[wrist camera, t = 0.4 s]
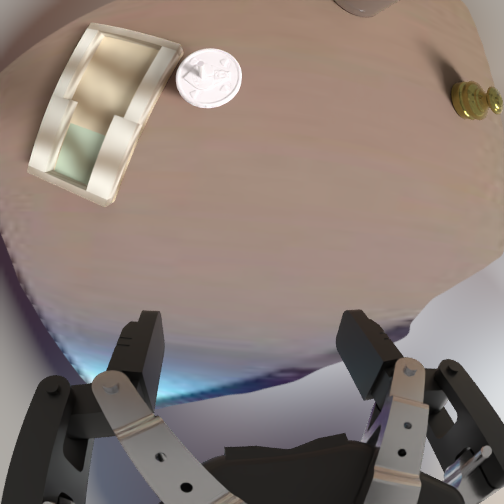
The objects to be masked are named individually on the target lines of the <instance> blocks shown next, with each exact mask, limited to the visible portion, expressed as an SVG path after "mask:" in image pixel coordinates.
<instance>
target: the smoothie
mask: <svg viewBox="0 0 504 504" xmlns="http://www.w3.org/2000/svg"><path fill="white" fill-rule="evenodd" d="M241 79H242V72H241V68H240V66H239V64H238V62H237V60H236V59H235V58H234V57H233V56H232V55H230V54H229V53H227V52H225V51H223V50H219V49H212V48H208V49H202V50H198V51H196V52H194V53H192V54H190V55H189V56H187V57H186V58H185V59H184V60H183V61H182V63H181V64H180V66H179V68H178V70H177V73H176V85H177V89H178V91H179V93H180V95H181V96H182V97H183V98H184V99H185V100H186V101H187V102H188V103H190V104H192V105H194V106H197V107H200V108H213V107H218V106H221V105H223V104H225V103H227V102H228V101H230V100H231V99H232V98H233V97H234V96H235V95H236V93H237V92H238V90H239V88H240V85H241Z"/></svg>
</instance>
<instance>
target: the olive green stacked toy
mask: <svg viewBox="0 0 504 504" xmlns="http://www.w3.org/2000/svg"><path fill="white" fill-rule="evenodd" d="M451 97H452V103H453V106H454V108H455V110H456V112H457V113H458V114H459V116H461V117H462V118H464V119H471V120H474V119H477V120H483V119H484V118H485V117H486V116H487V113H488V110H489V108H491V110H492V111H493V112H494V113H495V114H497V115H499V114H501V112H502V110H503V101H502V98H501V95H500V93H499V91H498V90H497V89H496V88H495V87H492V86H491V87H489V88H488V91H487V93H485V91H484V90H483V88H482V87H481V86H480V85H479V84H478V83H476V82H474V81H469V82H459V83H455V84H454V85H453V87H452V91H451Z"/></svg>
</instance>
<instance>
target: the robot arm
mask: <svg viewBox="0 0 504 504" xmlns="http://www.w3.org/2000/svg"><path fill="white" fill-rule="evenodd" d="M398 1H399V0H335V2H336V3H337V4H338V5H340V6H341V7H342V8H343V9H345V10H346V11H348V12H350V13H352V14H354V15H357V16H360V17H372V16H375V15H376V14H378V13H380V12H381V11H383V10H384V9H386V8H388V7H389V6H391V5H393V4H394V3H396V2H398ZM336 347H337V350H338V352H339V354H340V356H341V358H342V360H343V362H344V363H345V365H346V367H347V369H348V371H349V373H350V375H351V377H352V379H353V380H354V383H355V384H356V386H357V388H358V390H359V392H360V394H361V396H362V398H363V400H369V399H374V400H375V403H374V405H373V407H372V410H371V414H370V417H369V420H368V423H367V426H366V429H365V432H364V435H363V437H362V439H361V441H360V442H359V441H352V440H348V439H347V437H346V434H345V433H343V434H338V435H333V436H328V437H323V438H318V439H315V440H313V441H310V442H308V443H305V444H303V445H300V446H298V447H295V448H292V449H279V448H269V447H261V446H247V447H225V448H224V449H225V450H224V452H225V453H224V455H221V456H217V457H214V458H212V459H210V460H207V461H205V462H203V463H202V464H200V462H199V461H198V460H197V459H196V458H195V457H194V456H193V455H192V454H191V453H190V452H189V451H188V450H187V448H186V447H185V446H184V445H183V444H182V443H181V441H180V440H179V439H178V438H177V437H176V436H175V435H174V433H173V432H172V431H171V430H170V428H169V427H168V426H167V425H166V424H165V423H164V421H163V420H162V419H161V418H160V417H159V416H155V415H154V414H153V413H154V410H155V403H156V397H157V391H158V385H159V379H160V373H161V367H162V362H163V357H164V348H165V344H164V335H163V327H162V319H161V313H160V311H144V310H143V311H142V312H141V315H140V318H139V320H138V322H132V321H131V322H129V323H128V324H127V325H126V326H125V327H124V328H123V329H122V332H121V334H120V337H119V339H118V342H117V346H116V347H115V349H114V352H113V354H112V357H111V360H110V362H109V365H108V368H107V370H106V371H105V372H102V373H100V374H98V375H97V376H96V377H95V378H94V380H93V382H92V383H90V384H82V385H72V386H71V385H70V383H69V382H68V380H67V379H66V378H64V377H62V376H57V375H53V376H49V377H46V378H45V379H43V380H42V381H41V382H40V383H39V385H38V387H37V389H36V392H35V394H34V396H33V399H32V401H31V403H30V406H29V409H28V411H27V414H26V416H25V419H24V422H23V425H22V427H21V430H20V433H19V436H18V439H17V442H16V445H15V448H14V451H13V455H12V458H11V462H10V466H9V469H8V474H7V477H6V482H5V486H4V491H3V496H2V502H1V504H85V502H86V492H87V484H88V476H89V469H90V462H91V455H92V450H93V444H94V438H101V437H110V436H116V437H117V438H118V440H119V441H120V443H121V445H122V446H123V448H124V450H125V451H126V453H127V454H128V456H129V458H130V459H131V461H132V462H133V463H134V465H135V466H136V468H137V469H138V471H139V472H140V474H141V475H142V476H143V478H144V479H145V480H146V482H147V483H148V484H149V486H150V487H151V488H152V490H153V491H154V492H155V493H156V495H157V496H158V497H159V498H160V500H161V502H160V503H159V504H479V503H480V502H482V501H484V500H485V499H487V498H488V497H489V496H491V495H493V494H494V493H495V492H497V491H498V490H500V489H501V488H502V487H504V424H503V422H502V421H501V419H500V418H499V416H498V415H497V413H496V412H495V410H494V409H493V407H492V406H491V405H490V403H489V402H488V400H487V399H486V397H485V396H484V395H483V393H482V392H481V391H480V389H479V388H478V386H477V385H476V384H475V382H473V380H472V378H471V377H470V376H469V375H468V373H467V372H466V371H465V369H464V368H463V367H462V366H461V365H460V364H459V363H458V362H456V361H454V360H450V359H446V360H443V361H442V362H441V363H440V365H439V366H438V368H437V369H427V368H424V366H423V365H422V364H421V363H420V362H419V361H417V360H415V359H412V358H408V357H403V355H402V354H401V353H400V351H399V350H398V349H397V347H396V346H395V345H394V343H393V342H392V341H391V339H389V337H388V336H387V334H385V332H384V330H383V329H382V328H381V327H380V325H379V324H377V323H376V322H374V321H373V320H371V319H368V317H367V316H366V315H365V313H364V312H363V311H362V310H346V311H345V312H344V313H343V316H342V319H341V323H340V326H339V330H338V333H337V337H336ZM448 400H449V401H450V402H451V404H452V406H453V407H454V409H455V410H456V412H457V416H458V417H457V422H456V423H455V424H454V422H453V421H452V419H451V417H450V416H449V414H448V413H447V411H446V409H445V408H444V405H445V404H446V403H447V401H448ZM426 437H427V438H428V440H429V442H430V444H431V446H432V448H433V450H434V452H435V455H436V457H437V459H438V461H439V463H440V465H441V467H442V469H443V471H444V480H443V481H440V480H438V479H436V478H434V477H432V476H430V475H428V474H425V473H423V472H421V471H420V469H421V463H422V458H423V453H424V447H425V440H426Z"/></svg>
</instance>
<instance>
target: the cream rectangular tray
mask: <svg viewBox="0 0 504 504" xmlns="http://www.w3.org/2000/svg"><path fill="white" fill-rule="evenodd" d="M183 54H184V53H183V50H182V47H181V44H178V43H175V42H172V41H169V40H165V39H162V38H159V37H155V36H152V35H148V34H144V33H140V32H136V31H132V30H128V29H123V28H119V27H114V26H109V25H103V24H98V23H91V24H90V25H89V27H88V28H87V30H86V31H85V33H84V35H83V36H82V38H81V40H80V41H79V43H78V45H77V47H76V48H75V50H74V52H73V54H72V56H71V57H70V59H69V61H68V63H67V65H66V67H65V69H64V71H63V73H62V75H61V77H60V79H59V81H58V84H57V86H56V88H55V90H54V93H53V95H52V97H51V100H50V102H49V105H48V107H47V110H46V112H45V115H44V118H43V120H42V123H41V126H40V129H39V132H38V135H37V138H36V141H35V144H34V147H33V151H32V154H31V158H30V162H29V165H28V169H27V173H30V174H32V175H34V176H36V177H38V178H40V179H43V180H45V181H47V182H49V183H51V184H54V185H56V186H58V187H60V188H63V189H65V190H67V191H69V192H71V193H74V194H76V195H78V196H80V197H83V198H85V199H87V200H89V201H92V202H94V203H96V204H98V205H101V206H103V207H106V206H108V205H110V204H111V203H113V202H115V199H116V196H117V193H118V190H119V187H120V185H121V182H122V179H123V176H124V174H125V171H126V169H127V166H128V164H129V161H130V159H131V156H132V154H133V151H134V149H135V147H136V144H137V142H138V140H139V138H140V135H141V133H142V131H143V129H144V127H145V124H146V122H147V120H148V118H149V116H150V114H151V112H152V110H153V108H154V106H155V104H156V102H157V100H158V98H159V96H160V94H161V92H162V91H163V89H164V87H165V85H166V83H167V81H168V80H169V78H170V76H171V74H172V72H173V71H174V69H175V67H176V66H177V64H178V62H179V61H180V59H181V57H182V56H183Z"/></svg>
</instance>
